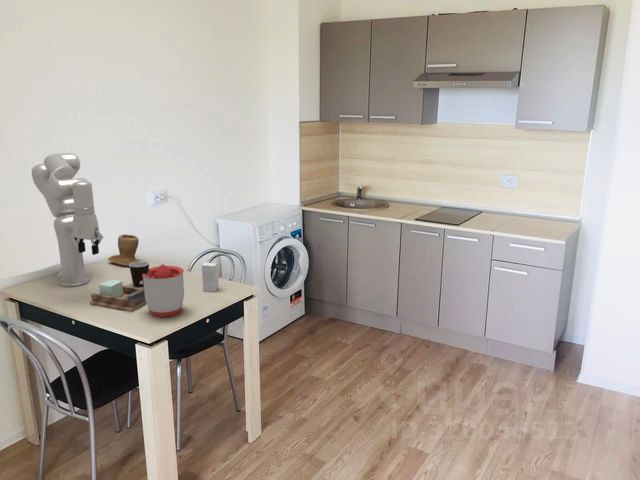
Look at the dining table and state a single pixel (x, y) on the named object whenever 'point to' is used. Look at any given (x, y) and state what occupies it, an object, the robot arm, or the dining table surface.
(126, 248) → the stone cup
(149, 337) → the dining table surface
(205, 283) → the skincare box
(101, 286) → the block
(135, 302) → the rail board
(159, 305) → the citrus juicer
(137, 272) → the coffee mug
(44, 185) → the robot arm
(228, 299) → the dining table surface
